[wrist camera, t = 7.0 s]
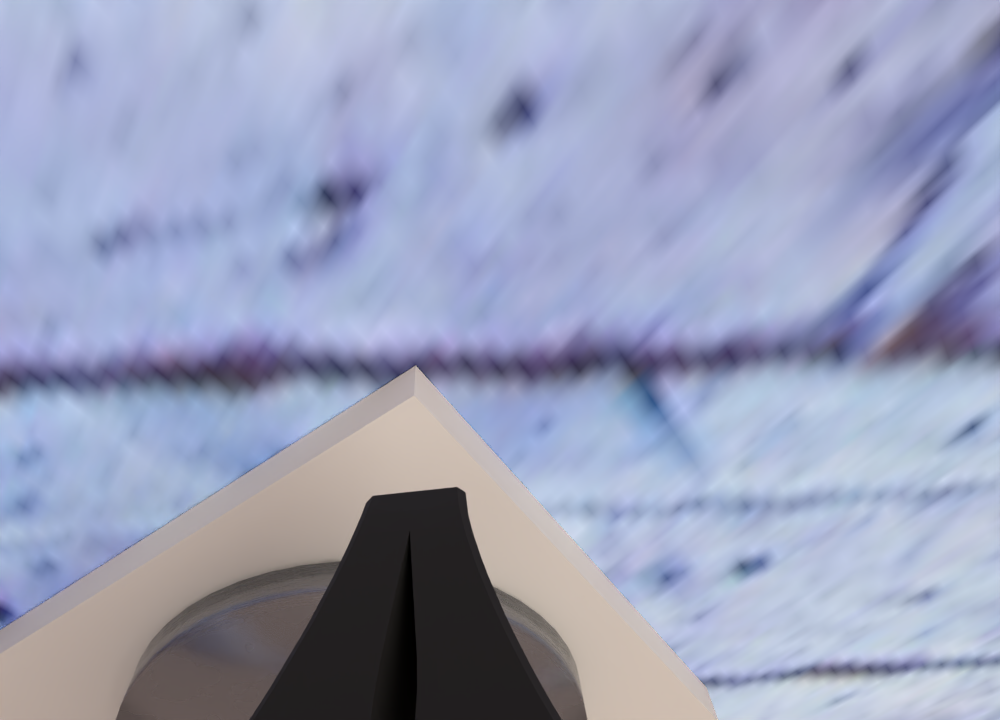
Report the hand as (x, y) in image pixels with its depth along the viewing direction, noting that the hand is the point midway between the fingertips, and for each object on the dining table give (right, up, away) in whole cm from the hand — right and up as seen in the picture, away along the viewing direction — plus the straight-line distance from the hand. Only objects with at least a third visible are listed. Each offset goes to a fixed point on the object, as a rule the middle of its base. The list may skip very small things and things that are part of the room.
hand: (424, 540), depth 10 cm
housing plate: (-4, -9, +16) cm, 19 cm away
